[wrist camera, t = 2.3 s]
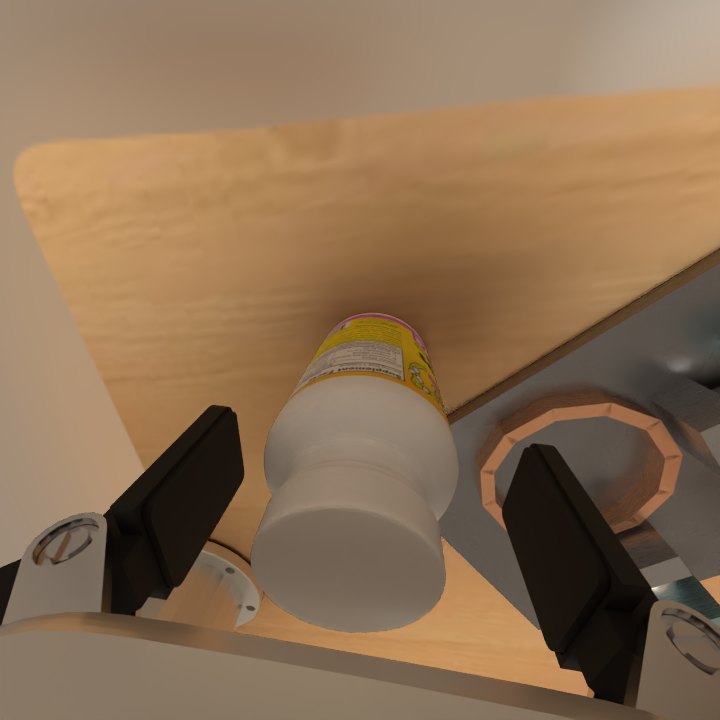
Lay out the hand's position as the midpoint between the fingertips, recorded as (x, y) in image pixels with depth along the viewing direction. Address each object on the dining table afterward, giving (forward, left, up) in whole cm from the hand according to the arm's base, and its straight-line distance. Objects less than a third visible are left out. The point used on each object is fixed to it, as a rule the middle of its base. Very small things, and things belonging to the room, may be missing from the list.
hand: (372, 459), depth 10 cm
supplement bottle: (-1, 0, -10) cm, 10 cm away
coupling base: (+6, -17, -9) cm, 21 cm away
